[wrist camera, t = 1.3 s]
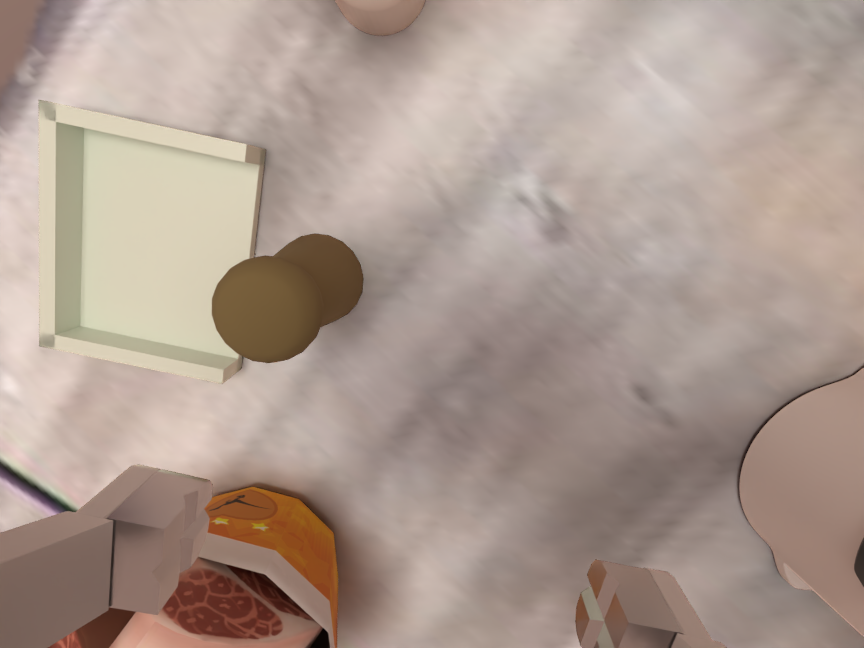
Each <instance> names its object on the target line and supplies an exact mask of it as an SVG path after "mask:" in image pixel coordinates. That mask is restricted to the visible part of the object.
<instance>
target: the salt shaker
mask: <svg viewBox="0 0 864 648" xmlns="http://www.w3.org/2000/svg"><path fill="white" fill-rule="evenodd" d="M425 1H426V0H335V2H336V3H337V5H338V7H339V9H340V10H341V12H342V14H343V15H344V16H345V18H346V19H347V20H348V21H349V22H350V23H351V24H352V25H353V26H355V27H356V28H357V29H359V30H361V31H363V32H365V33H368V34H371V35H377V36H386V35H391V34H395V33H397V32H400V31H402V30H403V29H405V28H406V27H408V26H409V25H410V24H411V23H412V22H413V21H414V20H415V19H416V18H417V16H418V15H419V13H420V12H421V10H422V8H423V6H424V3H425Z"/></svg>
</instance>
